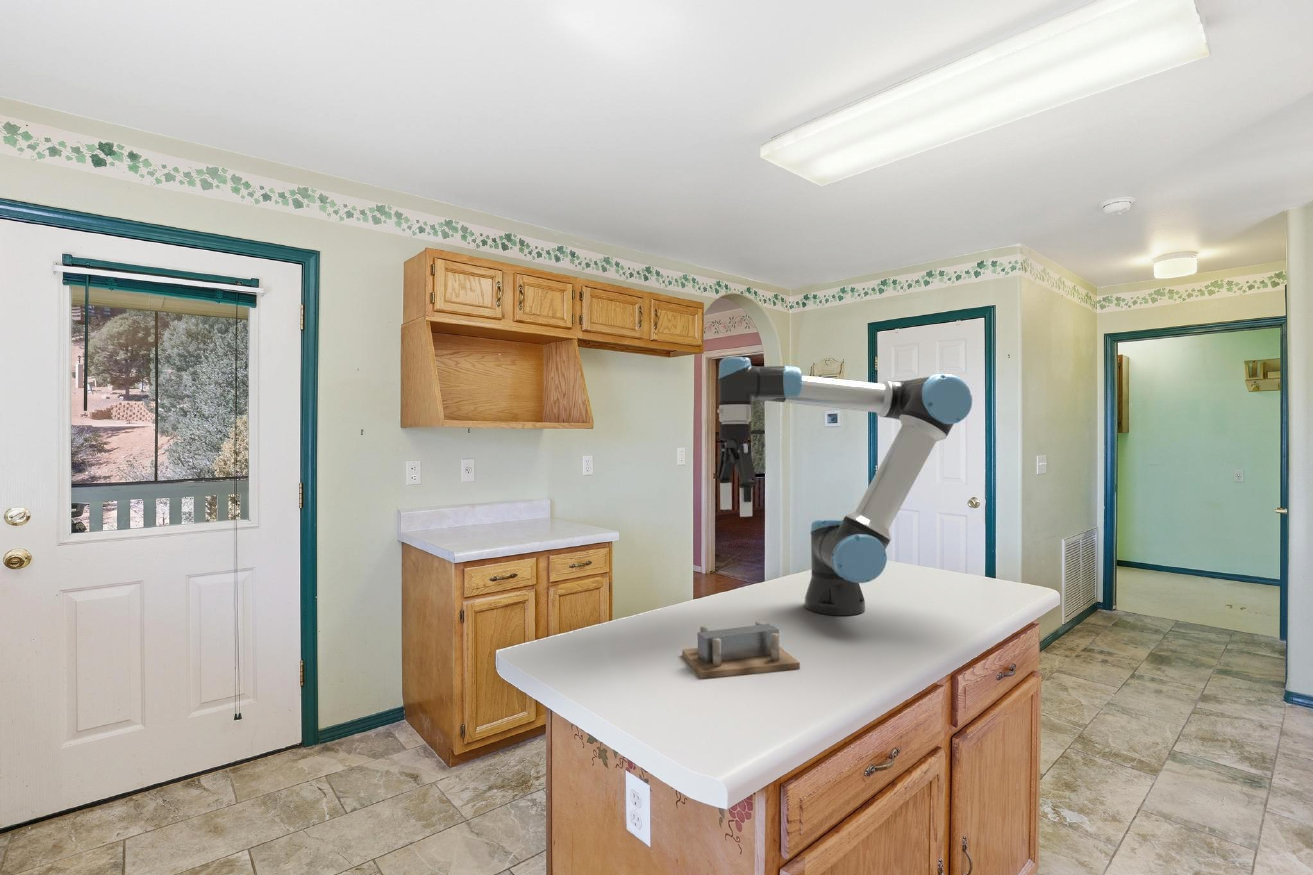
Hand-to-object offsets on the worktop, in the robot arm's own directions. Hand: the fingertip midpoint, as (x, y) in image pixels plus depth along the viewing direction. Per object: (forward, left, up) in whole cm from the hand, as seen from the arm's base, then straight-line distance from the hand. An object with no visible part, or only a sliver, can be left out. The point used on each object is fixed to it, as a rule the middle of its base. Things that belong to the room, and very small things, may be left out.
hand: (735, 512), depth 152 cm
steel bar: (+8, +23, -26) cm, 35 cm away
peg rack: (+8, +23, -27) cm, 36 cm away
